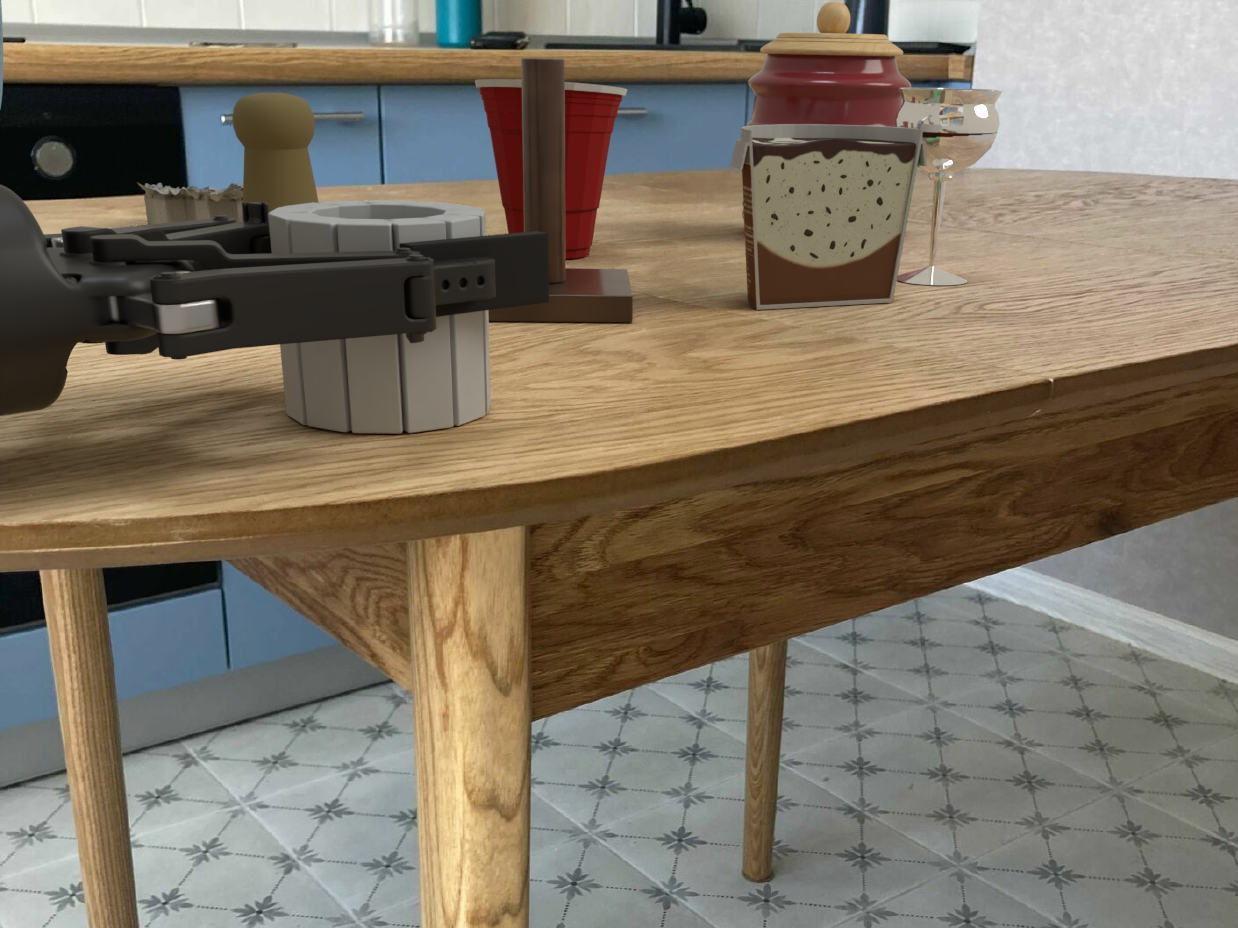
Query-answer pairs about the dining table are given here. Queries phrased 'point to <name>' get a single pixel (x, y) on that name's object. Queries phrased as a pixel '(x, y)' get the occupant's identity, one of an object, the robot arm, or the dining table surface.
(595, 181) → the plastic cup
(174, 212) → the egg carton
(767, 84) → the kitchen canister
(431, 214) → the plant pot
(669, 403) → the dining table surface
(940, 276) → the wineglass
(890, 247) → the food container
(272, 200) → the cork
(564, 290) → the stand
